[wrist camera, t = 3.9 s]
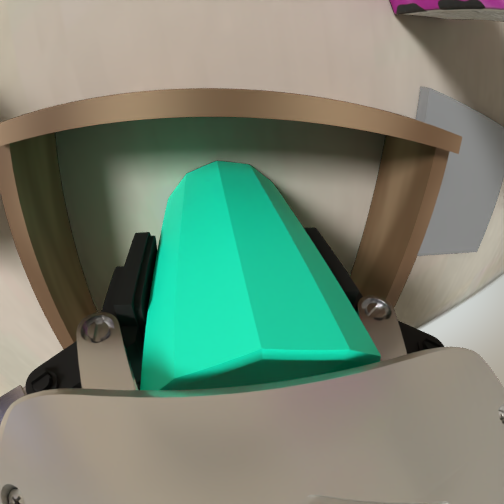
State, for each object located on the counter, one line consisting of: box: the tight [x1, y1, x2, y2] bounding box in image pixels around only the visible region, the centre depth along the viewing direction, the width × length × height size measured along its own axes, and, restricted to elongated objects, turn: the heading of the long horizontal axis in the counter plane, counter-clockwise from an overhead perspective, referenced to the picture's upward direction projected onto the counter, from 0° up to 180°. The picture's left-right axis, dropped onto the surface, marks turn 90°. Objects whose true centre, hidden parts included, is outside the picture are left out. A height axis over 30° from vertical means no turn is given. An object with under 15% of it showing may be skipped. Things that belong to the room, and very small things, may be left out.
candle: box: [140, 161, 381, 390], centre depth 10 cm, size 6×6×12 cm
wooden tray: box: [0, 88, 462, 349], centre depth 14 cm, size 19×17×5 cm
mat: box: [416, 87, 504, 256], centre depth 15 cm, size 11×11×1 cm
